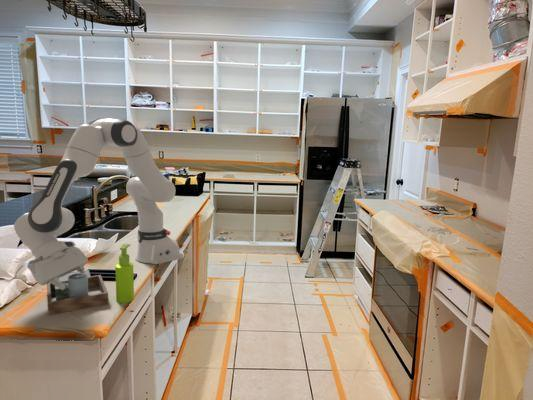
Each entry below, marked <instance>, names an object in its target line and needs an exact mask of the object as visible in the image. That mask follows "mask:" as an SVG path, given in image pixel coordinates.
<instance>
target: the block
mask: <svg viewBox="0 0 533 400" xmlns="http://www.w3.org/2000/svg"><path fill="white" fill-rule="evenodd" d="M66 285H68V283H66ZM55 292H56V293H55V301H58V300H63V299H69V289H68V287H67V288H66V289H64V290H61V289H60V288H59V287H57V286H55Z"/></svg>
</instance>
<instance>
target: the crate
mask: <svg viewBox="0 0 533 400" xmlns="http://www.w3.org/2000/svg"><path fill="white" fill-rule="evenodd" d="M60 282H62V283H64V282H65V283H68V289H69V282H68V280H63V281H60ZM93 287H98V289H99V290H100V292H99V293H93V294H89V295H86V296H80V297H75V298H63V299H58V300H53V301H52V294H56V292H55V285H53V284H52V283H51V282H50V283H48V284H46V297H47V301H46V302H47V314H48V316H51V315H56V314H61V313H66V312H71V311H77V310H81V309H87V308H91V307H98V306H102V305H108V304H109V292H108V290H107V287H106V285H105V282H104V280H103V277H102V275H101V274H98V275H97V274H95V275H92V276H91V275H90V277H88V289H89V288H93Z"/></svg>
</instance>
